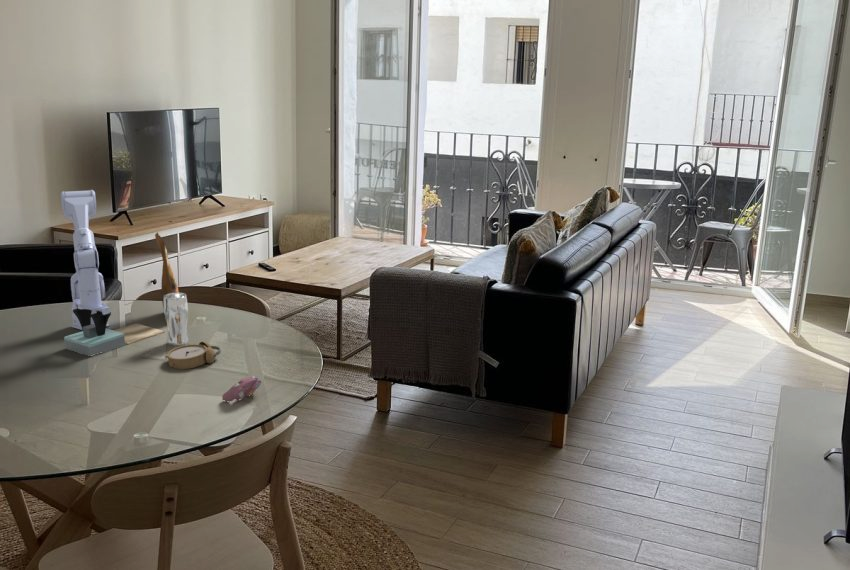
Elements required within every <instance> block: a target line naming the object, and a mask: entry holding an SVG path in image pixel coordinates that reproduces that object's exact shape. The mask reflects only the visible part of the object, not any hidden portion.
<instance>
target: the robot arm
mask: <svg viewBox="0 0 850 570" xmlns="http://www.w3.org/2000/svg"><path fill="white" fill-rule="evenodd" d="M60 199H61V208H62V213H63V215H64V218H67V219H70V221H71V222H72V224H73V228H74V231H73V233H72V234H73V235H72V241H73V247H74V252H73V262H74V268H75V273H74V274H72V275H71V278H70V291H71V297H72V298H71V299H72V305H71V315H72V316H71V317H72V324H70V327H71V328H74V329H77V330H81V331H83V327H84V326H88V325H91V324H95V328H96V333H97V335H98V336H102V335H105V330H106V328H107V327H109V326H110V323H108V321H109V319H110V316H111V315H112V312H111V311H110V309H111V308H110V307H109V306H107V305H106V304H105V303H104V302H103V300H102V299H104V298H105V297H106V288H105V282H104V281H105V280H104V276H103V274H102V273H101V272H99V266H100V261H99V252H98V250H97V246H96V243H95V236H94V232H93V231H92V230H91V229H89V228H90V227H89V222H90V218H92V217H94V216H96V214H97V199H96V192H95V191H94V190H93V189H89V190H75V191H73V190H71V191H64V190H63V191H62V192H60Z"/></svg>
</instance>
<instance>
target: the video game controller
mask: <svg viewBox="0 0 850 570" xmlns="http://www.w3.org/2000/svg"><path fill="white" fill-rule="evenodd" d="M261 384H262V380H261V379H259V378H258V377H256V376H254V375H251V376H250V377H249V376H248V377H247V376H245V377H242V378H241V379H240V380H238V381H237V382H236V383H234V385H232V386H231V387H230V388H229V390H227V391H226V392H224V393H223V394H222V396H221V397H222V401H223V400H225V401H231V402H233V401H234V400H236V401H238V400H239V399H242V398H243V399H244V398H245V397H247V396H249V395H251V396H252V395H253V393H254V392H255V391H256V390H258V388H260V386H261ZM249 397H250V396H249ZM243 399H242V400H243Z"/></svg>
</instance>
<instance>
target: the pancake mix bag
mask: <svg viewBox="0 0 850 570" xmlns="http://www.w3.org/2000/svg"><path fill="white" fill-rule="evenodd" d="M154 236H155V237H154V238H155V241H156V242H157V244H158V247H159V249H160V252H161V257H162V270H161V271H162V273H161V301H162V308H163V310H164V295H166V294H169V293H180V291H179V287H178V284H177V281H176V278H175V276H174V272H173V269H172V267H171V262H169V255H168V250H167V247H166V243H165V241H164V239H163V237H162V236H161V235H160V234H159V232H158V231H157V232H156V233H155V235H154Z"/></svg>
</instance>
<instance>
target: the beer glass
mask: <svg viewBox="0 0 850 570" xmlns="http://www.w3.org/2000/svg"><path fill="white" fill-rule="evenodd" d="M163 312H164V318H165V322H166V326H167V330H168V341H167V344H168V345H170V346H173V347H174V346H176V347H180V346H183V345H188V343H189V342H190V341H189V336H188V332H187V327H188V326H187V325H188V319H189V318H188V317H189V306H188V298H187V293H185V292H179V293H169V294H166V295H164V309H163Z"/></svg>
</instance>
